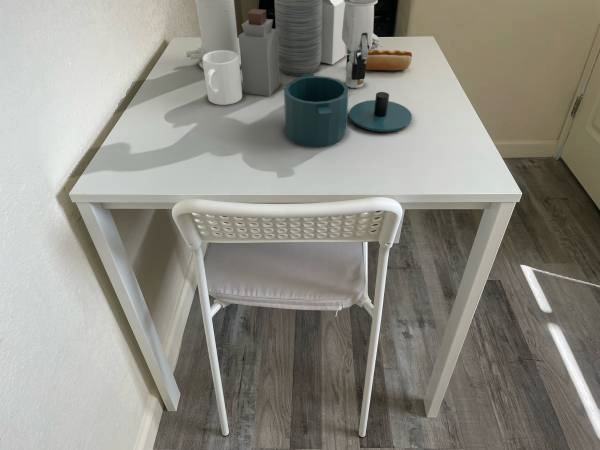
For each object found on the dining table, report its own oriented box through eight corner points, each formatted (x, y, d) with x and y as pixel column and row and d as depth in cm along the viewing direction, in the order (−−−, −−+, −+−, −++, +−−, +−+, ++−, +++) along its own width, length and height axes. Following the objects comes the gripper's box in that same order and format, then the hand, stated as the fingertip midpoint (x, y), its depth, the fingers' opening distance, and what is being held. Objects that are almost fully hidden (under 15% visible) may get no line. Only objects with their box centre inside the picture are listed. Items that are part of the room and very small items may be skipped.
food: (408, 65, 123) (411, 46, 120) (411, 73, 119) (414, 54, 116) (356, 64, 124) (357, 46, 120) (357, 73, 119) (358, 53, 116)
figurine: (357, 45, 134) (358, 28, 131) (383, 49, 132) (385, 32, 128) (353, 50, 131) (354, 32, 128) (380, 54, 129) (382, 36, 126)
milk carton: (344, 56, 128) (348, -18, 115) (332, 65, 123) (335, -12, 111) (322, 51, 131) (324, -22, 118) (309, 60, 126) (310, -16, 114)
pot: (292, 157, 89) (291, 112, 83) (280, 114, 103) (278, 73, 96) (355, 150, 91) (358, 106, 85) (335, 109, 104) (336, 68, 98)
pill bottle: (362, 89, 112) (364, 57, 107) (344, 87, 113) (346, 56, 108) (364, 81, 115) (366, 50, 110) (346, 80, 116) (348, 49, 111)
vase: (305, 82, 115) (305, -18, 100) (268, 72, 120) (263, -25, 105) (329, 66, 123) (332, -29, 108) (293, 57, 128) (291, -35, 112)
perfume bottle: (279, 84, 114) (276, 8, 102) (269, 96, 110) (265, 17, 98) (254, 81, 116) (249, 5, 104) (243, 92, 111) (236, 14, 99)
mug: (195, 110, 104) (188, 68, 98) (216, 88, 113) (211, 48, 107) (228, 114, 103) (223, 72, 96) (247, 92, 111) (243, 51, 105)
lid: (358, 136, 95) (360, 112, 91) (342, 107, 105) (343, 83, 101) (420, 130, 97) (424, 106, 93) (399, 102, 107) (402, 79, 103)
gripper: (335, -15, 106) (332, 62, 118) (354, 6, 94) (348, 90, 106) (366, -17, 107) (360, 60, 119) (389, 4, 95) (379, 88, 107)
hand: (355, 74), depth 112 cm, fingers closed on pill bottle, 4 cm apart
